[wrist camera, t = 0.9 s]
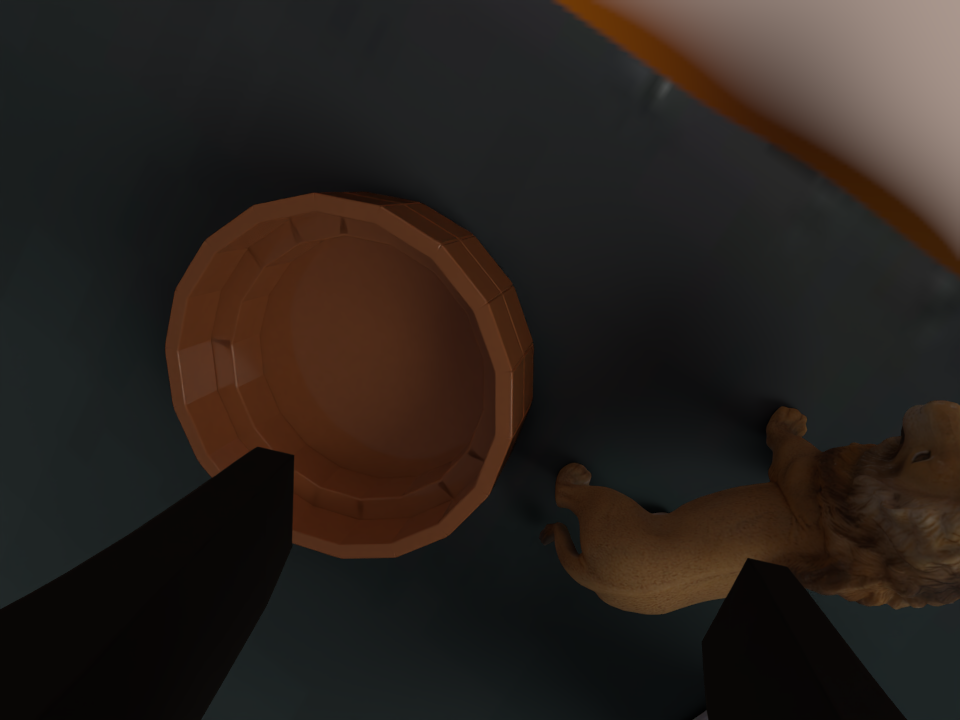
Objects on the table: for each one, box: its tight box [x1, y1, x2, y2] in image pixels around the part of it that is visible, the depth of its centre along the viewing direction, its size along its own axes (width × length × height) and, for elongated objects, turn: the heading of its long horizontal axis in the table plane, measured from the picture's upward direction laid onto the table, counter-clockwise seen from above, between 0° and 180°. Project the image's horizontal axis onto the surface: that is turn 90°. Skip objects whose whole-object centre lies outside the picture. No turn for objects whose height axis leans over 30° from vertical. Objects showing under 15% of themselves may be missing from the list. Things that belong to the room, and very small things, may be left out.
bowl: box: [165, 192, 534, 559], centre depth 24 cm, size 13×13×4 cm
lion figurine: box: [539, 400, 960, 615], centre depth 20 cm, size 15×5×9 cm, turn 120°
